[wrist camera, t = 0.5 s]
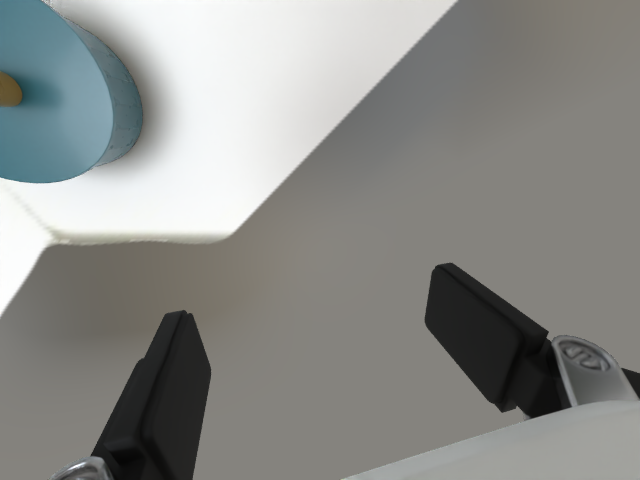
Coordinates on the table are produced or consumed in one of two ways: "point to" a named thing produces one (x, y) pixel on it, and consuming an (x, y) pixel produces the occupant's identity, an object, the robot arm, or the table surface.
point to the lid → (50, 97)
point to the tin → (117, 97)
